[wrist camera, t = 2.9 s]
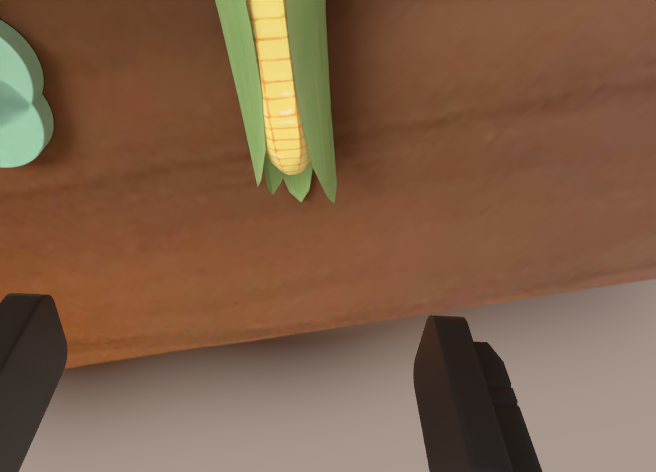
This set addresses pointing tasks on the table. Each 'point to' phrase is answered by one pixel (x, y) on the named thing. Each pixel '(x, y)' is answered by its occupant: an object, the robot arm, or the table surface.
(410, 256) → the table surface
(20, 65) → the spoon
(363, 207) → the table surface
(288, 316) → the table surface
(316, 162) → the edible corn
